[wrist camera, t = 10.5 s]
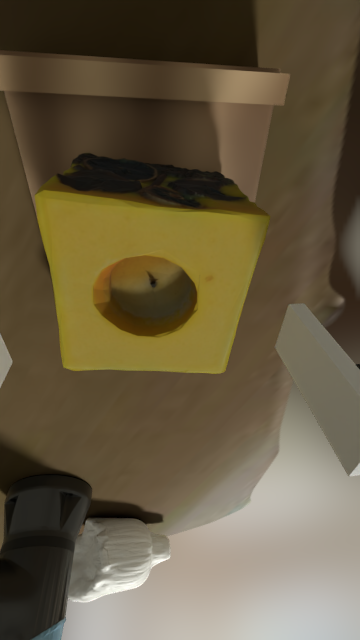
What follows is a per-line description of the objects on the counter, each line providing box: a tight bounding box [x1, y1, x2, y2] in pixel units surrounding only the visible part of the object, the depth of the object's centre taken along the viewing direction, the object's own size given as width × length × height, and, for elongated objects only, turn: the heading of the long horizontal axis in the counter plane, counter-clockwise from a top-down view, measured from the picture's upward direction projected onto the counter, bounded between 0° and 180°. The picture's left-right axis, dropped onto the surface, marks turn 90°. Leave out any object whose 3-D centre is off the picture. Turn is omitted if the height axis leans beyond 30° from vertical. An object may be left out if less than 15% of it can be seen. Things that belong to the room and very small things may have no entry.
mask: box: [68, 518, 170, 602], centre depth 64 cm, size 14×14×25 cm
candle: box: [35, 153, 270, 374], centre depth 18 cm, size 10×10×10 cm
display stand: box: [0, 50, 290, 334], centre depth 23 cm, size 16×20×6 cm
